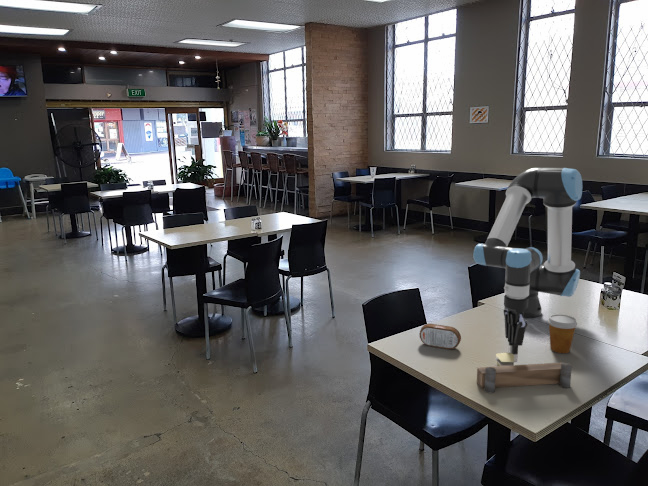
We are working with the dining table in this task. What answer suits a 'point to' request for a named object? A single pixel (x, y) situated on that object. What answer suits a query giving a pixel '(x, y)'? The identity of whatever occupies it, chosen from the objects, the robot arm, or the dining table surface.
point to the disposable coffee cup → (561, 332)
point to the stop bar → (524, 375)
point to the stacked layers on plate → (504, 359)
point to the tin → (440, 336)
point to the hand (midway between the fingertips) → (512, 361)
